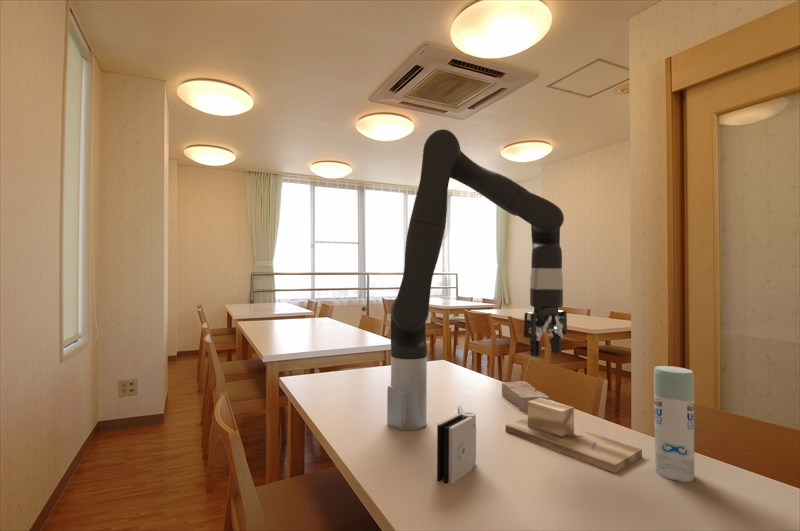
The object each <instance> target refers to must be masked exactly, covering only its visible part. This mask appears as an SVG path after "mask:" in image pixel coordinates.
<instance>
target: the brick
mask: <svg viewBox="0 0 800 531" xmlns="http://www.w3.org/2000/svg"><path fill="white" fill-rule="evenodd" d="M501 396H502V397H503V398H505V400H507V401H509V403H511V404H512V403H513V405H514V406H515V407H517V409H519V410H521V411H522V412H525V413H528V401H531V400H534V399H538V398H542V399H546V400H549V401H550V397H549V396H547V395H546V394H545V393H544V392H541V391H539V390H537V389H536V388H535V387H533V385H531V383H528V382H527V381H524V380H522V381H520V380H518V381H507V382H503V381H502V383H501Z"/></svg>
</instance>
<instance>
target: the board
mask: <svg viewBox="0 0 800 531" xmlns="http://www.w3.org/2000/svg"><path fill="white" fill-rule="evenodd" d="M505 432H506V433H508V434H511V435H513V436H517V437H519V438H522V439H525V440H527V441H530V442H532V443H535V444H538V445H541V446H543V447H545V448H548V449H551V450H553V451H557V452H558V453H561V454H563V455H566V456H568V457H569V456H570V457H572V458H574V459H577V460H580V461H582V462H586V463H588V464H589V465H593V466H595V467H598V468H601V469H603V470H606V471H609V472H611V473H614V474H616V473H617V472H619V471H620V470H622V469H625V467H627V466H629V465H630V464H632V463H634V462H635V461H637V460H639V459H640V458H642V457H643V449H642V448H638V447H635V446H633V445H629V444H627V443H623V442H620V441H616V440H613V439H610V438H607V437H604V436H601V435H598V434H594V433H591V432H589V431H586V430H582V429H579V428H576V427H574V434H572V435H569V436H567V437H564V438H559V437H556V436H553V435H551V434H548V433H545V432H542V431H539V430H536V429H534V428H531V427H528V417H526V418H522V419H519V420H516V421H514V422H511V423H507V424H505Z"/></svg>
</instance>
